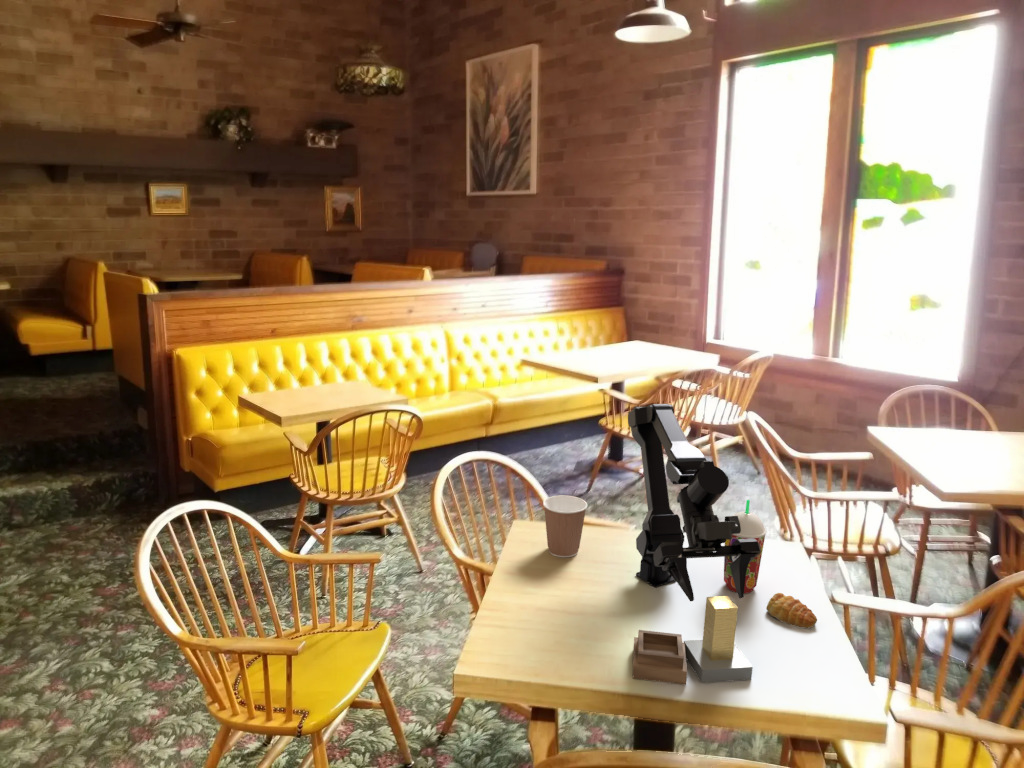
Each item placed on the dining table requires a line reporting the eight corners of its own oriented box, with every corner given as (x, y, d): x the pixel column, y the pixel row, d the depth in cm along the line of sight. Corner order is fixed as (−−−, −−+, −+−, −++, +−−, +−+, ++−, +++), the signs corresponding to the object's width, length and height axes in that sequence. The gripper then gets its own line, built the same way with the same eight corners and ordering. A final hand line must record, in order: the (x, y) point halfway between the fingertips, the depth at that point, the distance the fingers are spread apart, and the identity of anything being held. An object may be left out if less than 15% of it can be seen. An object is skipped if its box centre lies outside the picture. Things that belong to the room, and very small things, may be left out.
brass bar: (702, 647, 136) (706, 597, 134) (723, 646, 137) (728, 595, 134) (710, 660, 132) (715, 608, 130) (732, 659, 133) (737, 607, 130)
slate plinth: (682, 653, 139) (683, 640, 138) (729, 650, 140) (730, 637, 139) (701, 683, 130) (702, 670, 129) (751, 679, 131) (752, 666, 131)
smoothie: (717, 592, 161) (725, 504, 156) (722, 575, 168) (730, 490, 164) (758, 600, 158) (767, 510, 153) (761, 582, 165) (770, 496, 161)
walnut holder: (633, 649, 139) (634, 627, 138) (683, 655, 138) (685, 632, 137) (632, 678, 131) (634, 655, 130) (686, 684, 129) (688, 661, 128)
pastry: (823, 623, 150) (825, 606, 149) (804, 635, 146) (806, 617, 145) (780, 604, 157) (782, 587, 156) (761, 614, 153) (763, 597, 152)
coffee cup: (589, 545, 182) (591, 498, 179) (579, 564, 172) (582, 514, 169) (547, 539, 185) (549, 492, 182) (536, 556, 175) (537, 508, 172)
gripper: (662, 501, 134) (680, 588, 126) (762, 497, 137) (785, 583, 129) (645, 524, 143) (661, 607, 135) (739, 520, 146) (759, 601, 138)
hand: (717, 599), depth 134 cm, fingers open, 9 cm apart
